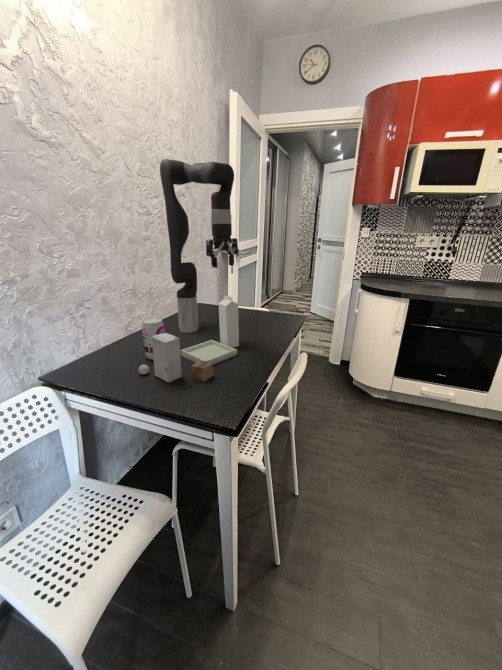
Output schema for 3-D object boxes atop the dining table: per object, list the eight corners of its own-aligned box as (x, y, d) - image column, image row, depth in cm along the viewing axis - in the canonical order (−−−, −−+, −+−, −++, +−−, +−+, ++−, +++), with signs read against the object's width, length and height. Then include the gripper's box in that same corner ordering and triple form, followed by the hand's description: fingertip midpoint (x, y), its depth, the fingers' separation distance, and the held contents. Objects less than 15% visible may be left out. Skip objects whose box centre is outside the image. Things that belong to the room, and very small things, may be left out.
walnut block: (192, 378, 105) (191, 365, 103) (201, 372, 109) (200, 360, 107) (204, 381, 103) (203, 368, 101) (213, 375, 107) (212, 362, 105)
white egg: (137, 374, 108) (136, 365, 107) (146, 370, 110) (145, 362, 109) (142, 377, 106) (140, 368, 105) (151, 373, 108) (150, 364, 107)
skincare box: (154, 376, 107) (149, 336, 102) (169, 370, 111) (164, 331, 106) (168, 383, 102) (164, 342, 96) (183, 376, 106) (179, 336, 101)
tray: (181, 355, 123) (180, 350, 122) (212, 345, 134) (211, 339, 133) (205, 367, 112) (205, 361, 112) (237, 355, 123) (236, 349, 122)
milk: (227, 349, 129) (225, 298, 122) (220, 345, 134) (217, 295, 126) (239, 345, 133) (238, 296, 125) (231, 341, 137) (230, 293, 129)
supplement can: (170, 353, 125) (167, 318, 120) (159, 361, 118) (154, 324, 113) (154, 351, 128) (149, 316, 123) (141, 358, 120) (136, 322, 115)
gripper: (228, 222, 122) (230, 264, 127) (200, 222, 112) (202, 267, 118) (242, 222, 117) (242, 265, 122) (213, 222, 107) (215, 269, 113)
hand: (223, 266), depth 120 cm, fingers open, 8 cm apart
